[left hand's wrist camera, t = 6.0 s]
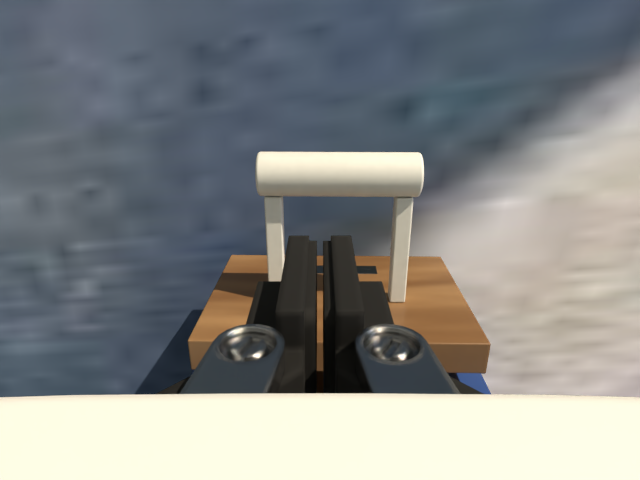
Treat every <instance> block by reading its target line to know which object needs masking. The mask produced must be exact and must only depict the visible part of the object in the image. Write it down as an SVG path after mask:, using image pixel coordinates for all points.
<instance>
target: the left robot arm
mask: <svg viewBox="0 0 640 480" xmlns="http://www.w3.org/2000/svg"><path fill="white" fill-rule="evenodd" d="M316 390H317V241H309V236H289V238H288V244H287V250H286V255H285V261H284V266H283V272H282V277H281V281H258V283H257V286H256V290H255V294H254V297H253V301H252V304H251V308H250V311H249V315H248V318H247V322H246V325H240V326H236V327H233V328H230V329H227V330H226V331H224V332H222V333H221V334H219V335H218V336H217V337H216V338H215V340H214V341H213V342H212V344H211V345H210V347H209V348H208V350H207V352H206V353H205V355H204V356H203V358H202V359H201V361H200V362H199V364H198V366H197V367H196V369H195V370H194V372H193V373H192V375H191V376H190V377H188V378H186V379H184V380H182V381H180V382H178V383H176V384H174V385H172V386H170V387H168V388H166V389H164V390H163V391H161V392H159V393H157V394H143V395H64V396H33V397H1V398H0V480H640V398H639V397H608V396H571V395H499V394H483V393H481V392H479V391H477V390H476V389H474V388H472V387H470V386H468V385H466V384H464V383H462V382H460V381H458V380H456V379H454V378H452V377H450V376H449V375H448V373H447V372H446V370H445V369H444V367H443V366H442V364H441V362H440V361H439V359H438V358H437V356H436V355H435V353H434V352H433V350H432V348H431V347H430V345H429V344H428V342H427V341H426V340H425V338H424V337H423V336H422V335H421V334H419V333H418V332H416V331H414V330H413V329H410V328H407V327H404V326H400V325H394V322H393V318H392V315H391V311H390V308H389V304H388V301H387V297H386V294H385V290H384V286H383V283H382V281H359V277H358V272H357V266H356V261H355V255H354V250H353V244H352V238H351V236H331V241H323V390H324V393H316Z"/></svg>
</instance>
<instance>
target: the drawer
mask: <svg viewBox="0 0 640 480" xmlns="http://www.w3.org/2000/svg"><path fill="white" fill-rule="evenodd" d="M255 176H256V187H257V191H258V194H259V195H260V196H265V198H264V201H265V222H266V244H267V255H231V257H230V259H229V261H228V263H227V265H226V267H225V269H224V270H223V272H222V274H221V276H220V278H219V280H218V282H217V284H216V286H215V288H214V290H213V292H212V294H211V296H210V298H209V300H208V302H207V304H206V306H205V308H204V310H203V312H202V314H201V316H200V317H199V319H198V321H197V323H196V325H195V327H194V329H193V331H192V333H191V335H190V337H189V339H188V347H189V355H190V362H191V369H192V370H195V369H196V367H197V366H198V364H199V362H200V361H201V359H202V358H203V356H204V355H205V353H206V352H207V350H208V348H209V347H210V345H211V344H212V342H213V341H214V340H215V338H216V337H217V336H218V335H219V334H221V333H222V332H224V331H226V330H227V329H230V328H233V327H236V326H240V325H246V322H247V318H248V315H249V311H250V308H251V304H252V301H253V297H254V294H255V290H256V286H257V283H258V281H281V277H282V272H283V266H284V261H285V248H284V216H283V196H364V197H394V207H393V222H392V238H391V253H390V256H355V261H356V266H357V272H358V277H359V281H382V283H383V286H384V290H385V294H386V297H387V301H388V304H389V308H390V311H391V315H392V318H393V322H394V325H400V326H404V327H407V328H410V329H413V330H414V331H416V332H418V333H419V334H421V335H422V336H423V337H424V338H425V340H426V341H427V342H428V344H429V345H430V347H431V348H432V350H433V352H434V353H435V355H436V356H437V358H438V359H439V361H440V362H441V364H442V366H443V367H444V369H445V370H446V372H447V373H486V368H487V362H488V356H489V350H490V342H489V341H488V339H487V337H486V335H485V334H484V332H483V330H482V328H481V327H480V325H479V323H478V321H477V320H476V318H475V316H474V314H473V313H472V311H471V309H470V307H469V306H468V304H467V302H466V301H465V299H464V297H463V295H462V294H461V292H460V290H459V288H458V287H457V285H456V283H455V281H454V280H453V278H452V276H451V274H450V273H449V271H448V269H447V267H446V266H445V264H444V262H443V261H442V259H441V257H409V246H410V234H411V222H412V209H413V198H412V197H417V196H419V195H420V193H421V191H422V187H423V180H424V163H423V158H422V155H421V154H420V153H418V152H259V153H258V155H257V158H256V168H255ZM316 393H324V390H323V256H317V390H316Z"/></svg>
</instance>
